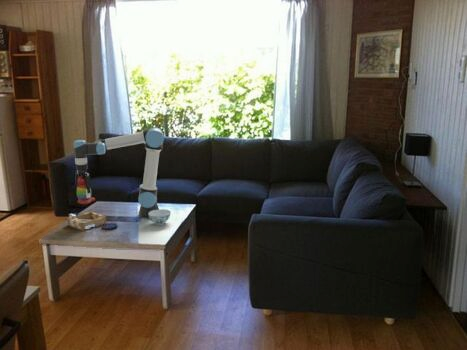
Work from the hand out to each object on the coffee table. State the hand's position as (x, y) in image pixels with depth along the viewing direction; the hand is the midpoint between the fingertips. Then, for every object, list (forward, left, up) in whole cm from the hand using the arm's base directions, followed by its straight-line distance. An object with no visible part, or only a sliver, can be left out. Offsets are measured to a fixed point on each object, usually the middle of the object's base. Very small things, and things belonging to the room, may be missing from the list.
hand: (84, 196), depth 280 cm
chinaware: (-38, -32, -20) cm, 54 cm away
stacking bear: (0, 0, -4) cm, 4 cm away
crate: (0, 0, -20) cm, 20 cm away
